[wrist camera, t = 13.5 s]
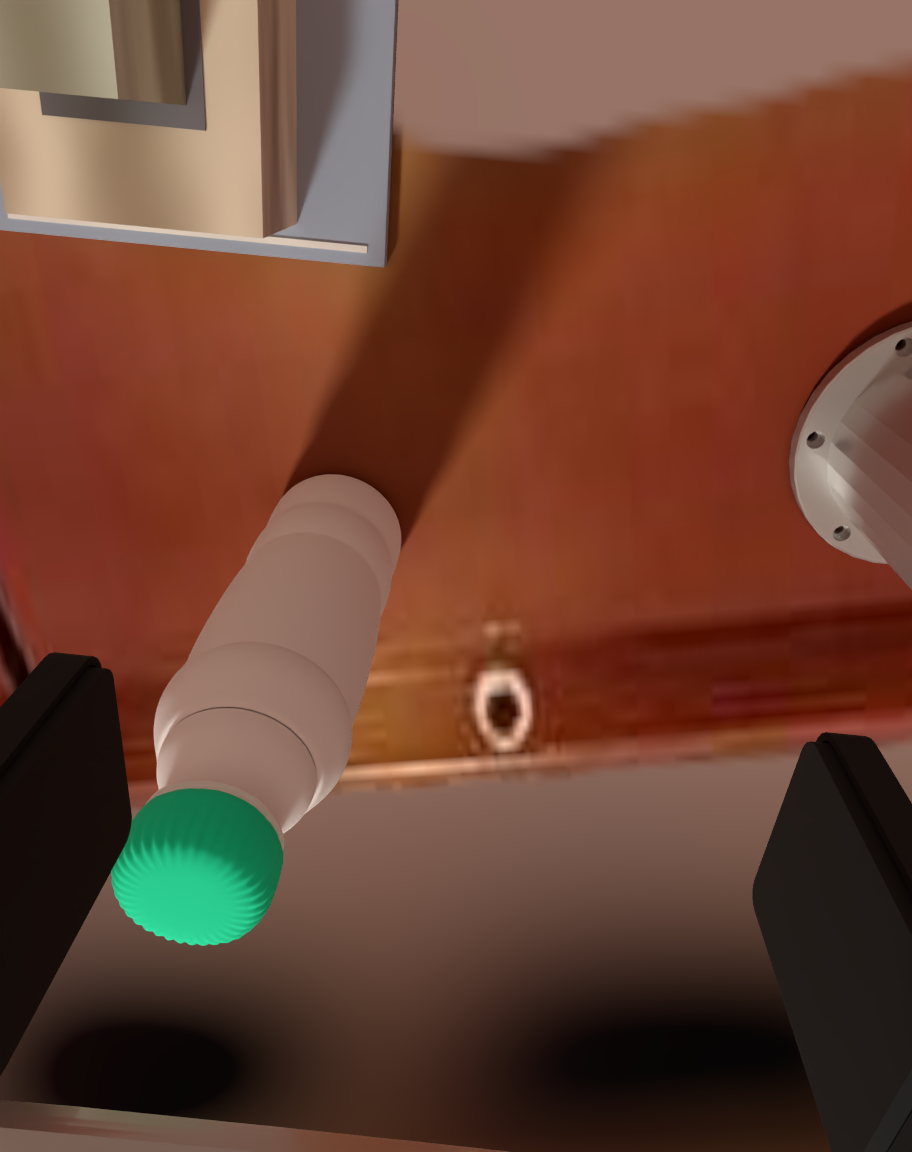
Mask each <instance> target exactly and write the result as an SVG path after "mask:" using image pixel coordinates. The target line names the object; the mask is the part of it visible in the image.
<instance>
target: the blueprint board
mask: <svg viewBox="0 0 912 1152" xmlns="http://www.w3.org/2000/svg"><path fill="white" fill-rule="evenodd" d="M397 20H398V0H296V96H297V224H295V225H293V226H291V227H288V228H286V229H284V230H281V231H279V232H277V233H274V234H272V235H270V236H268V237H265V238H253V237H243V236H233V235H222V234H212V233H202V232H192V231H182V230H171V229H161V228H151V227H141V226H130V225H120V224H110V223H100V222H89V221H79V220H69V219H59V218H49V217H38V216H28V215H18V214H8V213H5V206H4V200H3V194H2V187H1V181H0V230H6V231H16V232H27V233H37V234H47V235H57V236H67V237H78V238H88V239H98V240H108V241H119V242H129V243H139V244H149V245H159V246H170V247H180V248H190V249H200V250H211V251H221V252H231V253H241V254H251V255H262V256H272V257H282V258H292V259H303V260H313V261H323V262H333V263H344V264H354V265H364V266H374V267H385V266H386V265H387V251H388V228H389V205H390V182H391V158H392V135H393V112H394V89H395V66H396V65H395V64H396V42H397Z"/></svg>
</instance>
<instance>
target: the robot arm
mask: <svg viewBox="0 0 912 1152" xmlns="http://www.w3.org/2000/svg"><path fill="white" fill-rule="evenodd" d="M900 340H902V344H901V345H900V346H899V347H898V348H895V346H896V345H897V343H898V342H899V341H900ZM813 432H815V434H814V436H813V437H812V438H810V439H807V438H808V436H809V435H810V434H811V433H813ZM789 467H790V481H791V485H792V489H793V492H794V495H795V499H796V502H797V504H798V506H799V507H800V509H801V511H802V512H803V514H804V516H805V518H806V519H807V521H808V522H809V523H810V524H811V525H812V527H813V528H814V529H815V530H816V532H817V533H818V534H819V535H820V536H821V537H822V538H824V539H825V540H826V541H827V542H828V543H829V544H831V545H832V546H833V547H835V548H837V549H839V550H841V551H843V552H845V553H847V554H849V555H850V556H852V557H856V558H859V559H863V560H866V561H870V562H873V563H883V564H889V565H890V566H891V567H892V568H893V570H894V571H895V572H896V573H897V574H898V575H899V576H900V577H901V578H902V580H903V581H904V582H905V583H906V584H907V585H908V586H909V587H910V588H911V590H912V322H908V323H904V324H901V325H898V326H896V327H894V328H892V329H890V330H887V331H885V332H883V333H881V334H879V335H877V336H874V337H873V338H871V339H870V340H868V341H867V342H865V343H864V344H862V345H861V346H859V347H858V348H856V349H855V350H853V351H852V352H850V353H849V354H848V355H847V356H846V357H845V358H844V359H843V360H841V361H840V362H839V363H838V364H837V365H836V366H835V367H834V368H833V369H832V370H831V371H829V373H828V374H827V375H826V377H825V378H824V379H823V380H822V382H821V383H820V384H819V385H818V387H817V388H816V389H815V390H814V392H813V393H812V395H811V397H810V398H809V400H808V402H807V404H806V406H805V407H804V409H803V411H802V413H801V415H800V417H799V420H798V423H797V426H796V429H795V432H794V435H793V438H792V444H791V451H790V458H789ZM838 527H839V529H837V530H835V529H836V528H838ZM131 822H132V814H131V806H130V799H129V791H128V784H127V776H126V769H125V761H124V753H123V746H122V738H121V731H120V723H119V716H118V708H117V701H116V693H115V685H114V678H113V674H112V672H111V671H110V670H109V669H105V668H102V667H101V663H100V662H99V660H98V658H96V657H94V656H84V655H74V654H65V653H55V652H54V653H50V654H48V655H47V656H46V657H45V658H44V659H43V660H42V661H41V662H40V663H39V664H38V666H37V667H36V668H35V669H34V670H33V671H32V672H31V673H30V675H29V676H28V677H27V678H26V679H25V680H24V681H23V682H22V684H21V685H20V686H19V687H18V688H17V689H16V690H15V692H14V693H13V694H12V695H11V696H10V697H9V698H8V699H7V701H6V702H5V703H4V704H3V705H2V706H1V707H0V1075H1V1074H2V1072H3V1071H4V1069H5V1068H6V1065H7V1064H8V1062H9V1060H10V1058H11V1057H12V1055H13V1053H14V1051H15V1049H16V1047H17V1045H18V1043H19V1042H20V1040H21V1038H22V1036H23V1034H24V1032H25V1030H26V1029H27V1027H28V1025H29V1023H30V1021H31V1019H32V1017H33V1016H34V1014H35V1012H36V1010H37V1008H38V1006H39V1004H40V1003H41V1001H42V999H43V997H44V995H45V993H46V991H47V989H48V988H49V986H50V984H51V982H52V980H53V978H54V977H55V975H56V973H57V971H58V969H59V967H60V965H61V963H62V962H63V960H64V958H65V956H66V954H67V952H68V950H69V948H70V947H71V945H72V943H73V941H74V939H75V937H76V936H77V934H78V932H79V930H80V928H81V926H82V924H83V922H84V921H85V919H86V917H87V915H88V913H89V911H90V909H91V908H92V906H93V904H94V902H95V900H96V898H97V897H98V895H99V893H100V891H101V889H102V887H103V885H104V884H105V882H106V880H107V878H108V876H109V874H110V872H111V871H112V869H113V867H114V865H115V863H116V861H117V859H118V858H119V856H120V854H121V852H122V850H123V848H124V846H125V844H126V842H127V840H128V837H129V834H130V829H131ZM753 906H754V910H755V913H756V916H757V920H758V923H759V926H760V929H761V932H762V935H763V938H764V942H765V945H766V948H767V951H768V954H769V957H770V960H771V963H772V967H773V970H774V973H775V976H776V979H777V982H778V985H779V989H780V991H781V994H782V998H783V1001H784V1004H785V1007H786V1010H787V1013H788V1017H789V1020H790V1023H791V1026H792V1029H793V1032H794V1035H795V1039H796V1042H797V1045H798V1048H799V1051H800V1054H801V1057H802V1060H803V1064H804V1067H805V1070H806V1073H807V1076H808V1079H809V1082H810V1085H811V1088H812V1091H813V1095H814V1098H815V1101H816V1104H817V1107H818V1110H819V1113H820V1116H821V1120H822V1123H823V1126H824V1129H825V1132H826V1135H827V1139H828V1142H829V1145H830V1148H831V1151H832V1152H912V803H911V801H910V800H909V798H908V797H907V795H906V793H905V792H904V790H903V788H902V787H901V785H900V784H899V782H898V780H897V778H896V777H895V775H894V773H893V772H892V770H891V768H890V767H889V765H888V764H887V762H886V760H885V759H884V757H883V755H882V754H881V752H880V750H879V749H878V747H877V745H876V744H875V743H874V741H873V740H872V739H871V738H869V737H866V736H857V735H847V734H838V733H828V732H826V733H822V734H821V735H820V736H819V737H818V739H817V741H816V742H807V743H806V744H805V745H804V747H803V749H802V751H801V754H800V757H799V759H798V762H797V765H796V768H795V770H794V773H793V776H792V778H791V781H790V784H789V787H788V789H787V792H786V795H785V798H784V801H783V803H782V806H781V809H780V811H779V814H778V817H777V820H776V822H775V825H774V828H773V831H772V833H771V836H770V839H769V841H768V844H767V847H766V850H765V853H764V855H763V858H762V861H761V864H760V866H759V869H758V872H757V875H756V877H755V880H754V884H753ZM0 1152H506V1151H497V1150H488V1149H478V1148H469V1147H460V1146H451V1145H441V1144H432V1143H423V1142H413V1141H404V1140H395V1139H385V1138H376V1137H367V1136H357V1135H347V1134H338V1133H329V1132H320V1131H310V1130H300V1129H291V1128H282V1127H271V1126H262V1125H252V1124H242V1123H231V1122H222V1121H213V1120H203V1119H193V1118H183V1117H172V1116H163V1115H153V1114H144V1113H134V1112H124V1111H114V1110H104V1109H93V1108H84V1107H74V1106H61V1105H50V1104H38V1103H26V1102H14V1101H2V1100H0Z"/></svg>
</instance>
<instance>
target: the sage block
mask: <svg viewBox="0 0 912 1152" xmlns="http://www.w3.org/2000/svg"><path fill="white" fill-rule="evenodd" d="M0 88H6V89H17V90H27V91H38V92H48V93H59V94H69V95H80V96H91V97H101V98H112V99H122V100H133V101H144V102H155V103H166V104H177V105H186V90H185V74H184V58H183V42H182V26H181V10H180V0H0Z"/></svg>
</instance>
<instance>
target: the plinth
mask: <svg viewBox="0 0 912 1152" xmlns="http://www.w3.org/2000/svg"><path fill="white" fill-rule="evenodd" d="M180 10H181V26H182V42H183V58H184V74H185V90H186V105H177V104H166V103H155V102H144V101H133V100H122V99H112V98H101V97H91V96H80V95H69V94H59V93H48V92H38V91H27V90H17V89H6V88H0V181H1V187H2V194H3V200H4V206H5V213H8V214H18V215H28V216H38V217H49V218H59V219H69V220H79V221H89V222H100V223H110V224H120V225H130V226H141V227H151V228H161V229H171V230H182V231H192V232H202V233H212V234H222V235H233V236H243V237H253V238H265V237H268V236H270V235H272V234H274V233H277V232H279V231H281V230H284V229H286V228H288V227H291V226H293V225H295V224H297V96H296V0H180Z"/></svg>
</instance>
